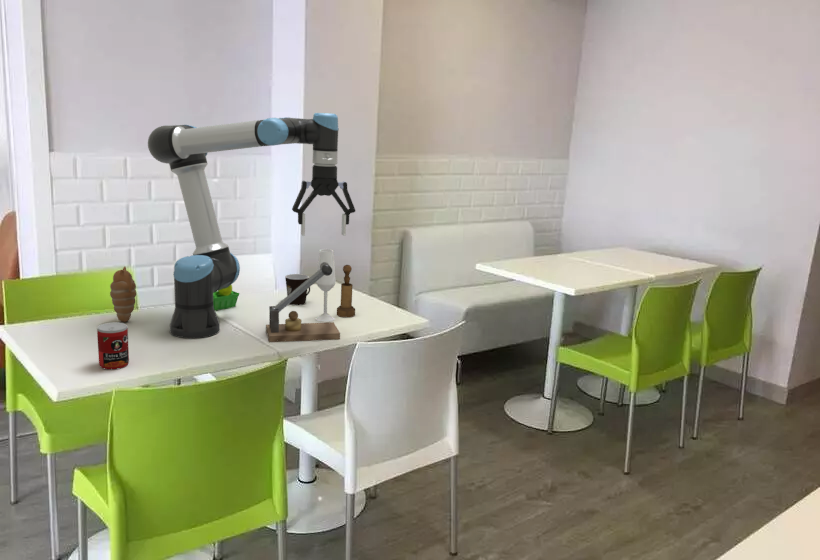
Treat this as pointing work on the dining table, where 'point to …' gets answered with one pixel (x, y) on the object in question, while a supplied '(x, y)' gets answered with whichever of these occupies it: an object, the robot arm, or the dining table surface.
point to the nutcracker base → (305, 333)
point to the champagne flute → (326, 280)
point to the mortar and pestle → (346, 296)
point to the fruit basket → (225, 298)
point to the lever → (304, 286)
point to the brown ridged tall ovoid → (123, 294)
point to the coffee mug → (293, 283)
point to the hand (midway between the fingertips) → (323, 234)
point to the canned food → (113, 345)
